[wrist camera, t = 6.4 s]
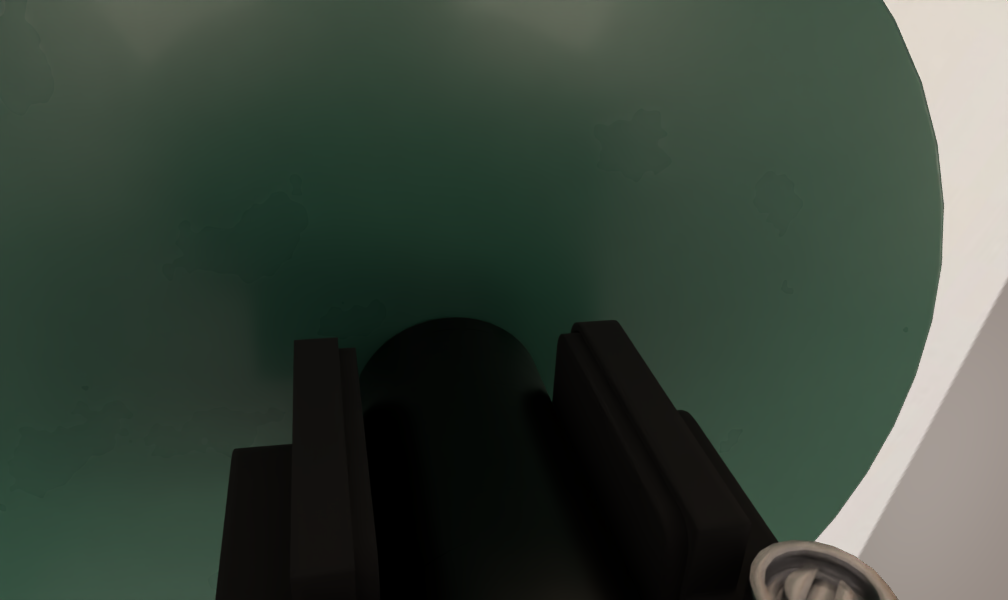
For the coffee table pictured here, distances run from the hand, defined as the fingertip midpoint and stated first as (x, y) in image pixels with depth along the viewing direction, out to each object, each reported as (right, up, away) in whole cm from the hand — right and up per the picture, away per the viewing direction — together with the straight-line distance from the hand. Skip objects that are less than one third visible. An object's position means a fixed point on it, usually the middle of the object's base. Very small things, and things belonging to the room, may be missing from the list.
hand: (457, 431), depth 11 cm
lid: (0, +1, +1) cm, 1 cm away
